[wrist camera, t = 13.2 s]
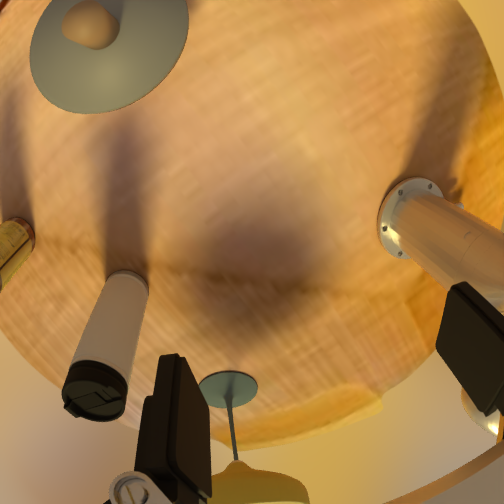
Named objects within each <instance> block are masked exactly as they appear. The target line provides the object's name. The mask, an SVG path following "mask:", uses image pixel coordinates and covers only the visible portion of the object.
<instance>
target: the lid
mask: <svg viewBox="0 0 504 504" xmlns="http://www.w3.org/2000/svg"><path fill="white" fill-rule="evenodd" d="M188 29H189V16H188V8H187V4H186V1H185V0H52V1H51V2H50V4H49V5H48V6H47V8H46V9H45V10H44V12H43V14H42V16H41V17H40V19H39V21H38V23H37V26H36V28H35V30H34V34H33V37H32V41H31V46H30V68H31V73H32V76H33V79H34V82H35V84H36V86H37V87H38V89H39V91H40V92H41V93H42V95H43V96H44V97H45V98H46V99H47V100H48V101H49V102H51V103H52V104H54V105H55V106H57V107H58V108H61V109H63V110H66V111H69V112H73V113H79V114H98V113H105V112H111V111H114V110H117V109H121V108H123V107H125V106H128V105H130V104H132V103H134V102H136V101H138V100H140V99H141V98H143V97H144V96H145V95H147V94H148V93H150V92H151V91H152V90H153V89H154V88H156V87H157V86H158V85H159V84H160V83H161V82H162V81H163V80H164V79H165V78H166V77H167V75H168V74H169V73H170V71H171V70H172V69H173V68H174V66H175V64H176V63H177V61H178V59H179V58H180V55H181V53H182V51H183V49H184V46H185V43H186V40H187V35H188Z"/></svg>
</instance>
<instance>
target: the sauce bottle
mask: <svg viewBox="0 0 504 504" xmlns="http://www.w3.org/2000/svg"><path fill="white" fill-rule="evenodd" d="M34 245H35V239H34V233H33V231H32V229H31V227H30V226H29V225H28V223H27V222H26V221H24V220H23V219H21V218H17V217H15V218H10V219H8V220H7V221H6V222H4V223H2V224H1V225H0V293H1V291H2V290H3V289H4V287H5V286H6V285H7V283H8V282H9V281H10V280H11V278H12V277H13V276H14V275H15V273H16V272H17V271H18V269H19V268H20V267H21V266H22V265H23V263H24V262H25V261H26V260H27V259H28V257H29V256H30V254H31V252H32V251H33V249H34Z"/></svg>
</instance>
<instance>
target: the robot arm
mask: <svg viewBox="0 0 504 504" xmlns="http://www.w3.org/2000/svg"><path fill="white" fill-rule="evenodd" d="M377 231H378V237H379V239H380V242H381V244H382V246H383V247H384V249H386V250H387V251H388V252H389V253H390V254H391V255H393V256H394V257H396V258H400V259H410V258H412V259H413V260H414V261H415V262H416V263H417V264H419V265H420V266H421V267H422V268H423V269H424V270H425V271H426V272H427V273H429V274H430V275H431V276H432V277H433V278H434V279H435V280H436V281H437V282H438V283H440V284H441V285H442V286H443V287H444V288H445V289H446V290H447V291H448V293H447V298H446V303H445V308H444V312H443V316H442V321H441V325H440V329H439V333H438V336H437V340H436V350H437V352H438V353H439V355H440V356H441V357H442V359H443V360H444V361H445V363H446V364H447V366H448V367H449V368H450V370H451V371H452V372H453V374H454V375H455V377H456V378H457V380H458V381H459V383H460V384H461V385H462V389H461V400H462V404H463V407H464V409H465V411H466V412H467V414H468V415H469V416H470V418H471V419H472V420H473V421H474V422H475V423H476V424H477V425H479V426H480V427H481V428H482V429H484V430H486V431H487V432H489V433H490V434H492V435H494V436H496V437H497V442H496V445H495V446H493V447H492V448H491V449H489V450H488V451H486V452H484V453H483V454H481V455H480V456H478V457H477V458H475V459H473V460H472V461H470V462H468V463H467V464H465V465H463V466H462V467H460V468H458V469H456V470H455V471H453V472H451V473H449V474H447V475H445V476H443V477H442V478H440V479H438V480H436V481H434V482H432V483H430V484H428V485H426V486H424V487H421V488H419V489H417V490H415V491H413V492H410V493H408V494H406V495H404V496H401V497H399V498H396V499H394V500H391V501H389V502H386V503H384V504H504V316H503V315H502V314H501V313H502V312H504V233H503V232H501V231H500V230H498V229H496V228H495V227H493V226H491V225H490V224H488V223H486V222H485V221H483V220H481V219H480V218H478V217H476V216H474V215H473V214H471V213H469V212H467V211H465V210H464V206H463V204H462V203H461V202H458V203H454V204H453V203H451V202H449V201H447V200H445V199H444V196H443V194H442V192H441V190H440V189H439V187H438V186H437V185H436V184H435V183H434V182H432V181H430V180H428V179H425V178H422V177H412V178H408V179H406V180H403V181H402V182H400V183H399V184H397V185H396V186H395V187H394V188H393V189H392V190H391V191H390V192H389V194H388V195H387V196H386V198H385V200H384V202H383V204H382V206H381V209H380V212H379V215H378V221H377ZM211 497H212V477H211V452H210V414H209V407H208V404H207V402H206V400H205V398H204V396H203V394H202V392H201V390H200V388H199V386H198V384H197V382H196V379H195V377H194V375H193V373H192V371H191V369H190V367H189V365H188V362H187V360H186V358H185V357H180V356H179V354H177V353H175V354H168V355H161V356H160V357H159V361H158V367H157V373H156V380H155V386H154V392H153V395H151V396H147V397H146V398H145V400H144V404H143V410H142V416H141V423H140V430H139V437H138V444H137V451H136V459H135V467H134V471H129V472H124V473H122V474H120V475H118V476H117V477H116V478H115V479H114V480H113V482H112V483H111V485H110V489H109V498H110V499H109V500H108V501H106V502H105V503H103V504H207V498H211Z"/></svg>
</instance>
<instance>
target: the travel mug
mask: <svg viewBox="0 0 504 504" xmlns="http://www.w3.org/2000/svg"><path fill="white" fill-rule="evenodd" d="M148 295H149V290H148V286H147V284H146V282H145V281H144V280H143V278H142V277H140V276H139V275H138V274H136V273H134V272H131V271H127V270H121V271H117V272H114V273H113V274H111V275H110V276H109V277H108V279H107V281H106V283H105V285H104V287H103V289H102V292H101V294H100V296H99V298H98V300H97V302H96V305H95V307H94V309H93V311H92V313H91V316H90V318H89V320H88V323H87V325H86V327H85V330H84V332H83V334H82V337H81V339H80V342H79V344H78V347H77V349H76V352H75V354H74V357H73V359H72V362H71V365H70V367H69V372H68V375H67V377H66V380H65V383H64V386H63V389H62V399H63V401H64V403H65V404H64V409H66V410H67V411H68V412H69V413H70V414H72V415H73V416H74V417H75V418H78V417H83V418H85V419H88V420H91V421H96V422H108V421H113V420H115V419H118V418H119V417H120V416H122V414H123V413H124V410H125V405H126V399H127V393H128V390H129V384H130V379H131V374H132V369H133V364H134V358H135V354H136V349H137V344H138V339H139V335H140V330H141V325H142V321H143V317H144V312H145V308H146V304H147V300H148Z"/></svg>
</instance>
